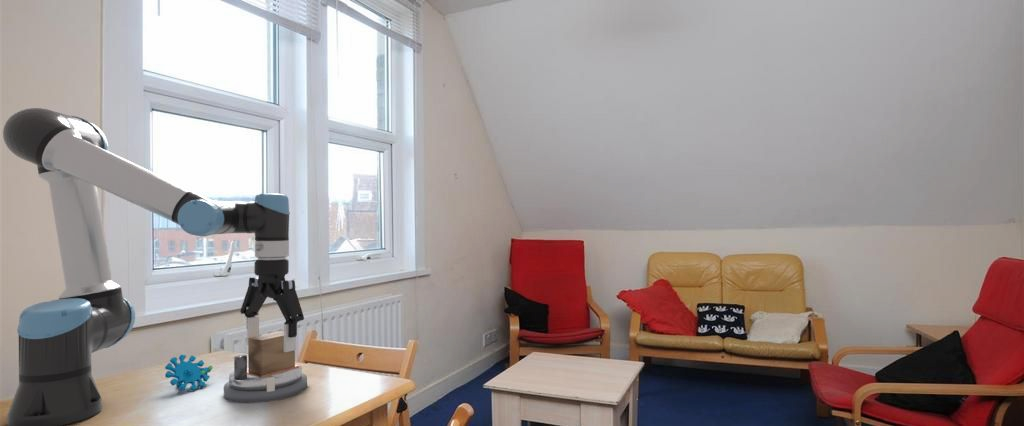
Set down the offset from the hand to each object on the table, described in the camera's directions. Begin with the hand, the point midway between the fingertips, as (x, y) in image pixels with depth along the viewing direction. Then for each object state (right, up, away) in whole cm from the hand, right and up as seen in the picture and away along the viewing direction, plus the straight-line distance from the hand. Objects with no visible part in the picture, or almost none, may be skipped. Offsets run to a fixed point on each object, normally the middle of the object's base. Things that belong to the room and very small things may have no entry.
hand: (270, 347), depth 135 cm
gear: (-20, -10, +1) cm, 22 cm away
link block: (0, -5, 0) cm, 5 cm away
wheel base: (0, -10, -1) cm, 10 cm away
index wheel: (0, -7, -1) cm, 8 cm away
